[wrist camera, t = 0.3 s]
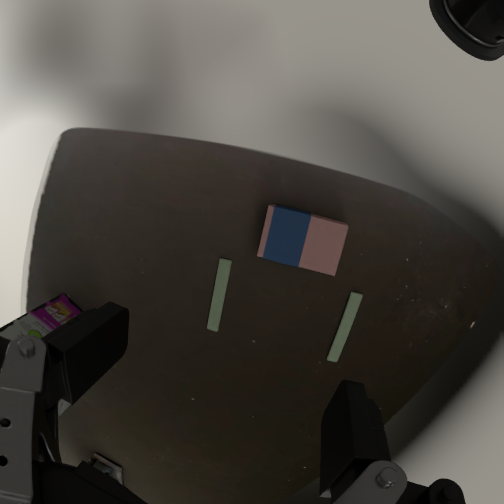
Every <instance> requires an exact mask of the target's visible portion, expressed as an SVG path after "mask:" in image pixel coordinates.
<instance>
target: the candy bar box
mask: <svg viewBox="0 0 504 504" xmlns="http://www.w3.org/2000/svg"><path fill="white" fill-rule="evenodd" d="M81 312H83V311H81V310H80V309H79V308H78V307H77V306H76V305H75V304H74V303H73V302H72V301H70V300H69V299H68V298H67V297H66V296H65V295H64V294H61V295H59V296H57V297H55V298H53V299H51V300H50V301H48V302H46V303H44V304H42V305H40V306H39V307H37V308H35V309H33V310H32V311H29V312H28V313H26V314H24V315H23V316H21V317H19V318H17V319H16V320H14V321H12V322H10V323H8V324H7V325H5V326H3V327H1V328H0V336H2V337H4V338H7V339H9V340H13V339H14V338H16V337H19V336H23V335H31V336H35V337H38V338H42V337H43V336H45V335H47V334H48V333H50V332H51V331H53V330H54V329H56V328H57V327H59V326H61V325H62V324H64V323H67V321H69V320H70V319H72V318H73V319H74V317H75V316H76V315H78V314H80V313H81ZM57 404H58V417H59V416H60V415H61V414H62V413H63V412H64V411H65V410H66V409H67V408H68V407H69V406H70V405H71V404H70V403H68V402H66V401H65V400H63V399H61V400H60V401H59V402H58V403H57Z"/></svg>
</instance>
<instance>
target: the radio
mask: <svg viewBox="0 0 504 504" xmlns="http://www.w3.org/2000/svg"><path fill="white" fill-rule="evenodd" d="M88 464H90V465H91V466H93V467H95V468H96V469H98V470H100V471H102V472H103V473H105V474H107V475H109V476H111V477H113V478H114V479H116V480H117V481H119V482H120V483H121V484H122V485H124V483H123V472H122V468H120V467H118V466H116V465H114V464H113V463H111V462H109V461H107V460H106V459H104V458H102V457H101V456H99V455H97V454H95V453H94V455H93V456H92V457H91V458H90V460H89V462H88Z"/></svg>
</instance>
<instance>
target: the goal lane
mask: <svg viewBox="0 0 504 504" xmlns="http://www.w3.org/2000/svg"><path fill="white" fill-rule="evenodd" d="M231 264H232V261H231V260H227V259H223V258H220V261H219V266H218V271H217V276H216V282H215V287H214V292H213V298H212V303H211V309H210V314H209V320H208V325H207V329H210V330H213V331H217V332H218V329H219V324H220V319H221V314H222V309H223V304H224V299H225V294H226V289H227V284H228V279H229V274H230V269H231ZM362 296H363V295H362V294H359V293H355V292H351V294H350V297H349V300H348V302H347V305H346V308H345V311H344V314H343V317H342V319H341V322H340V325H339V328H338V330H337V333H336V336H335V338H334V341H333V343H332V346H331V348H330V351H329V354H328V356H327V360H329V361H333V362H337V361H338V358H339V356H340V354H341V351H342V349H343V346H344V344H345V341H346V339H347V336H348V334H349V331H350V329H351V326H352V323H353V321H354V318H355V315H356V313H357V310H358V307H359V304H360V302H361V299H362Z"/></svg>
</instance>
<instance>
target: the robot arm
mask: <svg viewBox="0 0 504 504" xmlns="http://www.w3.org/2000/svg"><path fill="white" fill-rule="evenodd" d="M442 5H443V8H444V11H445V13H446V15H447V16H448V18H449V19H450V21H451V22H452V23H453V25H454V26H455V27H456V28H457V29H458V30H459V31H460V32H461V33H462V34H463V35H464V36H465V37H467V38H468V39H469V40H471V41H472V42H474V43H476V44H477V45H479V46H482V47H485V48H490V49H492V48H496V47H498V46H499V45H501V44H502V43H503V42H504V0H442ZM128 327H129V310H128V309H127V308H124V307H122V306H120V305H118V304H115V303H113V302H108V303H106V304H105V305H103V306H102V307H100V308H98V309H96V308H94V309H90V310H86V311H83V312H81V313H80V314H78V315H76V316H75V317H74V319H73V318H72V319H70V320H69V321H67V323H64V324H62V325H61V326H59V327H57V328H56V329H54V330H53V331H51V332H50V333H48V334H47V335H45V336H43V337H42V338H38V337H35V336H31V335H23V336H19V337H16V338H14V339H13V340H9V339H7V338H4V337H2V336H0V504H148V503H146V502H145V501H143V500H142V499H140V498H139V497H138V496H136V495H135V494H134V493H132V492H131V491H130V490H129V489H127V488H126V487H125V486H124V485H122V484H121V483H120V482H119V481H117V480H116V479H114V478H113V477H111V476H109V475H107V474H105V473H103V472H102V471H100V470H98V469H96V468H95V467H93V466H91V465H90V464H88V463H86V462H85V461H82V462H81V463H80V464H79V465H78V467H75V466H72V465H68V464H63V463H62V461H61V457H60V452H59V441H58V404H57V403H58V402H59V401H60V400H61V399H63V400H65V401H66V402H68V403H70V404H71V405H73V404H74V403H75V402H76V401H77V400H78V399H79V398H80V397H81V396H82V395H83V394H84V393H85V392H86V391H87V390H88V389H89V388H90V387H91V386H92V385H94V384H95V383H96V382H97V381H98V380H99V379H100V378H101V377H102V376H103V375H104V374H105V373H106V372H107V371H108V370H109V369H110V368H111V367H112V366H113V365H114V364H115V363H116V362H117V361H118V360H119V359H120V358H121V357H122V356H123V355H124V353H125V351H126V348H127V344H128ZM319 496H321V497H329V498H331V500H330V502H331V503H330V504H466V503H465V499H464V495H463V492H462V490H461V488H460V487H459V485H457V483H455V482H454V481H452V480H449V479H439V480H436V481H435V482H434V483H432V484H431V485H430V486H429V487H426V486H422V485H419V484H415V483H412V482H409V481H407V477H406V474H405V472H404V471H403V470H402V469H401V468H400V467H399V466H398V465H397V464H395V463H393V462H391V458H390V453H389V448H388V443H387V438H386V434H385V431H384V425H383V422H382V416H381V412H380V409H379V408H378V406H377V405H376V403H375V402H374V401H373V399H368V398H367V396H366V391H365V387H364V384H362V383H358V382H353V381H348V380H342V381H341V383H340V384H339V386H338V388H337V390H336V392H335V393H334V395H333V397H332V399H331V401H330V402H329V404H328V406H327V408H326V410H325V412H324V414H323V418H322V422H321V464H320V491H319Z"/></svg>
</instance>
